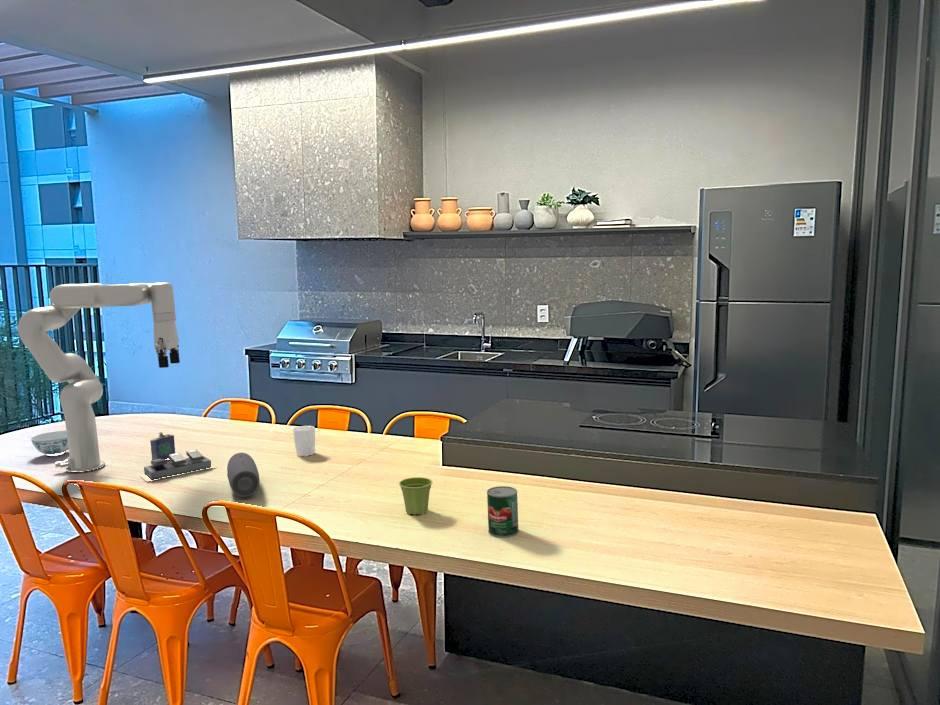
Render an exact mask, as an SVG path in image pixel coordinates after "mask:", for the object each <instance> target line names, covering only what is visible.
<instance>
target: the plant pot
mask: <svg viewBox="0 0 940 705" xmlns="http://www.w3.org/2000/svg"><path fill="white" fill-rule="evenodd" d="M398 485H399V487H400V489H401V491H402V497H403V500H404V502H403V503H404V509H405V512H407V513H406V514H407V515H410V514H413V515H412V516H414V515H419V514H421V515H424V514H427V512H428V510H429V500H430V499H429V498H430V491H431V488H432V485H433V480H432V479H431V478H427V477H419V476H418V477H417V476H416V477H408V478H404V479H402V480H400V481H399V482H398ZM423 513H424V514H423Z"/></svg>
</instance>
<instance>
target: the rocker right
mask: <svg viewBox="0 0 940 705" xmlns="http://www.w3.org/2000/svg"><path fill="white" fill-rule="evenodd" d="M185 453H186V454H185V455H186V456H187V458H190V459H191V460H192V461H197V460H202V459H203V456H204V455H203V454H202V453H201V452H200V451H199V450H198V449H191V450H186V452H185Z"/></svg>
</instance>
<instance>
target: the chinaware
mask: <svg viewBox="0 0 940 705" xmlns="http://www.w3.org/2000/svg"><path fill="white" fill-rule="evenodd" d="M30 441H31V443H32V445H33V447H34V448H35V449H36V450H37V451H38V452H39V453H41V454H44V455H46V454H55V453H61V452H64V451H65V452H67V451H69V448H68V440H67V431H66V430H57V431H55V430H54V431H50V432H44V433H40V434H37V435H34V436H32V437H31V438H30Z"/></svg>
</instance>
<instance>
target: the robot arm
mask: <svg viewBox="0 0 940 705" xmlns="http://www.w3.org/2000/svg"><path fill="white" fill-rule="evenodd" d="M49 292H50V293H49V300H50V302H51V303H50V304H49V305H48V306H41V307H34V308H32V309H29V310H27V311H26V312H24V313H23V314H22V316H21V317H20V319H19V321H18V324H17V331H18V332H17V333H18V336H19V339H20V340H21V342H22V343H23V345H24V346H25V348H26V349H27V351H29V353H30V354H31V355H32V357H33V358H34V359H35V361H36V363H37V364H38V365H39V367H40V368H41V369H42V371H43V372H44V373H45V375H46V376H47V378H48V379H49V380H50V381H51V382H53V383H57V384H60V383H66V382H67V383H68V384H67V385H66V386H64V387H63V388H62V390H61V391H60V395H59V401H60V406H61V409H62V411H63V416H64V423H65V428H66V430H65V431H67V440H68V448H69V449H68V455H69V456H67V458H66V459H64V460H63V461H56V462H54V466H55V468H56V469H57V468H65V471H66V470H68V471H87V470H93V469H97V468H100V467H102V466H104V465H105V466H106V462H105V460H102V459H101V457H100V456H101V454H100V448H99V439H98V438H99V437H98V431H97V428H98V427H97V422H96V415H95V412H94V409H93V407H92V404H94V403H96V402H98V401H100V399H101V397H102V396H103V392H104V388H103V385H102V383H101V381H100V380H99V378H98V376H97V375H96V373H94V371H93V370H92V368H91V367H90V366H89V364H88V363H87V362H86V360H85V359H84V358H83V357H82V356H80V355H79V354H77V353H73V352H72V353H71V352H70V353H69V352H68V353H64V351H63V350H62V349H61V347H60V346H59V345H58V343H57V342H56V341H55V339H54V338H52V337H51V336H50V335H49V334H48V333H47V332H48V331H53V330H58V329H61V328H62V327H64V326H65V325H66V324H67V323H68V322H69V321H70V320H71V319H73V317H74V316H75V314H77V313H78V312H79V311H80V310H81V309H88V308H89V309H93V308H94V309H95V308H96V309H98V308H99V309H100V308H107V307H108V308H109V307H110V308H111V307H112V308H114V307H133V306H134V307H135V306H141V305H146V304H151V313H152V322H153V343H154V350H156V351H155V352H156V357H157V360H158V367H159V369H163V368H169V366H170V365H169V362H170V364H180V362H181V361H180V352H179V351H180V349H179V345H180V344H179V337H178V330H177V324H176V322H177V315H176V314H177V313H176V305H175V297H174V296H175V294H174V286H173V285H172V283H171V282H154V283H146V282H136V283H129V284H128V283H125V284H102V283H100V282H99V283H98V282H95V283H65V284H59V285H56V286H54V287H53V288H52V289H51V290H50V291H49ZM168 351H169V353H168ZM168 354H169V356H168ZM105 466H104V467H105ZM102 468H103V467H102ZM100 469H101V468H100ZM97 470H98V469H97ZM93 471H94V470H93Z"/></svg>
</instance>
